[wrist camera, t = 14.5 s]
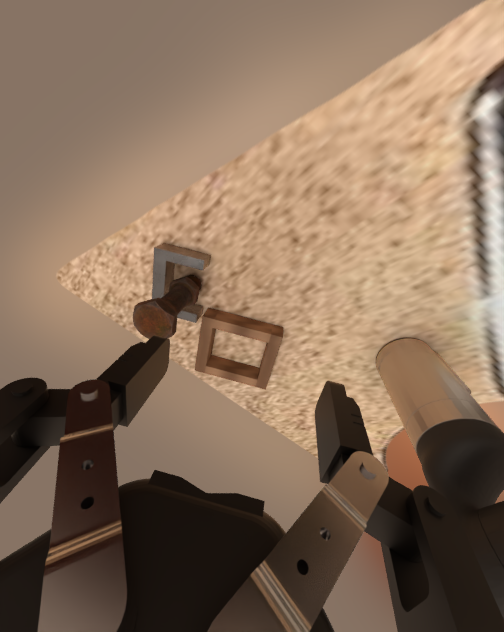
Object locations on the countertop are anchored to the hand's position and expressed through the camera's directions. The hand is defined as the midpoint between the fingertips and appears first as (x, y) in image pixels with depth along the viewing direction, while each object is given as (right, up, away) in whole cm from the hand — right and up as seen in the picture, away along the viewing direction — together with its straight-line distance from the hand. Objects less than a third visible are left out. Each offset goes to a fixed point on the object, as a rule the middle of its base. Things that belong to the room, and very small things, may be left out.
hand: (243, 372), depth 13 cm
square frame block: (-2, -3, +37) cm, 37 cm away
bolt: (-10, +9, +33) cm, 35 cm away
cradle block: (-11, +9, +32) cm, 35 cm away
